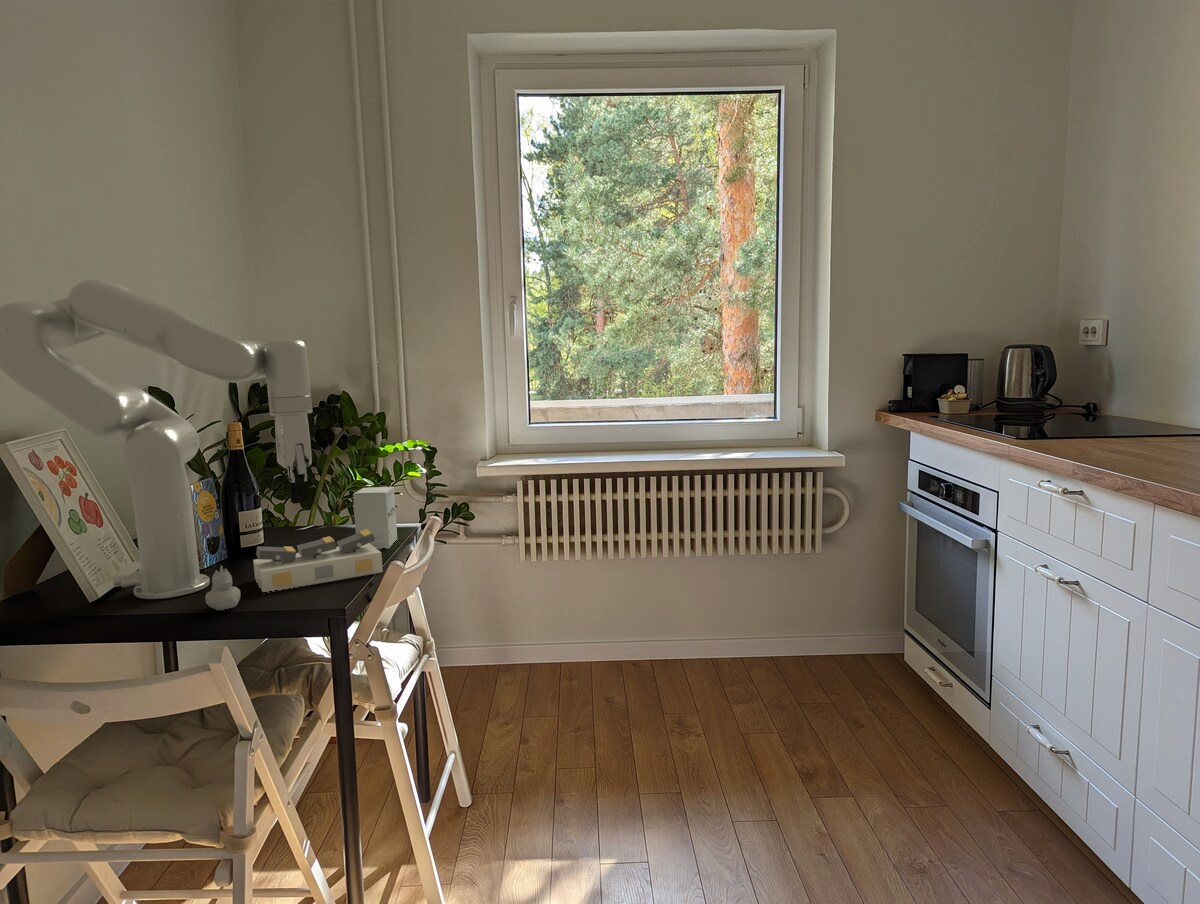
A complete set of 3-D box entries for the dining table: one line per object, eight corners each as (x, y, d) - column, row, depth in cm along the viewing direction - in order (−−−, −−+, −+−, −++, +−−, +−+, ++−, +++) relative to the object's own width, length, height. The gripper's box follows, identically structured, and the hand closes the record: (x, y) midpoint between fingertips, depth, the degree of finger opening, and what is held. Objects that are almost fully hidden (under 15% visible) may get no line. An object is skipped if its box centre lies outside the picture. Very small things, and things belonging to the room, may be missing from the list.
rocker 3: (344, 553, 157) (341, 545, 157) (338, 548, 161) (335, 540, 161) (375, 540, 160) (372, 532, 160) (369, 536, 164) (366, 528, 164)
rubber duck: (214, 616, 136) (209, 570, 135) (201, 608, 141) (196, 563, 139) (247, 608, 139) (242, 563, 138) (233, 600, 144) (228, 556, 143)
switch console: (263, 593, 148) (260, 569, 147) (255, 579, 156) (252, 556, 156) (383, 572, 158) (381, 549, 158) (369, 560, 167) (367, 539, 167)
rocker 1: (259, 559, 149) (260, 550, 149) (255, 554, 153) (256, 545, 153) (295, 560, 153) (296, 551, 153) (291, 555, 157) (292, 546, 157)
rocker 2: (302, 558, 153) (301, 549, 153) (298, 552, 157) (296, 544, 157) (336, 549, 156) (335, 540, 156) (331, 544, 160) (329, 535, 160)
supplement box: (389, 549, 176) (385, 492, 174) (355, 550, 176) (351, 493, 175) (398, 540, 184) (394, 486, 182) (366, 541, 184) (362, 486, 182)
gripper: (263, 405, 156) (272, 498, 159) (276, 410, 143) (286, 511, 146) (303, 402, 160) (312, 493, 162) (319, 406, 147) (329, 505, 150)
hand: (300, 501), depth 154 cm, fingers closed
